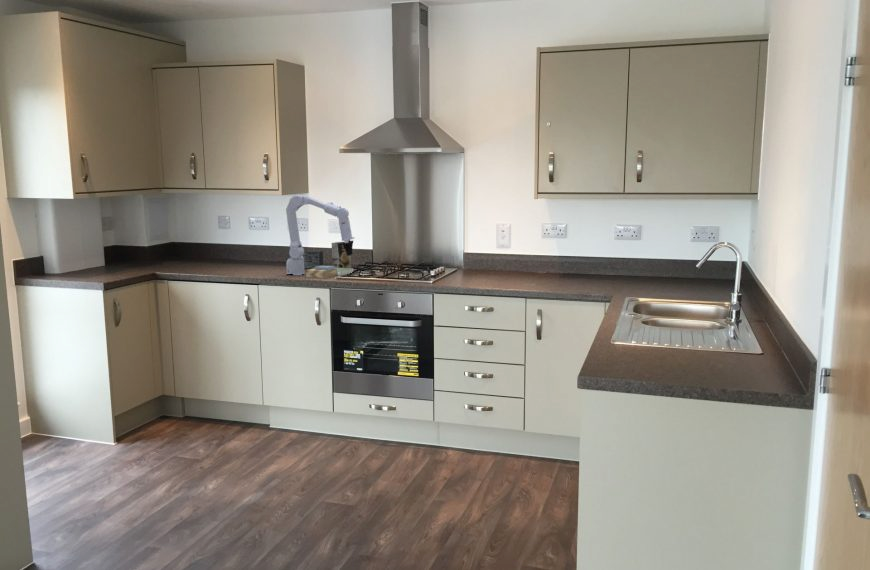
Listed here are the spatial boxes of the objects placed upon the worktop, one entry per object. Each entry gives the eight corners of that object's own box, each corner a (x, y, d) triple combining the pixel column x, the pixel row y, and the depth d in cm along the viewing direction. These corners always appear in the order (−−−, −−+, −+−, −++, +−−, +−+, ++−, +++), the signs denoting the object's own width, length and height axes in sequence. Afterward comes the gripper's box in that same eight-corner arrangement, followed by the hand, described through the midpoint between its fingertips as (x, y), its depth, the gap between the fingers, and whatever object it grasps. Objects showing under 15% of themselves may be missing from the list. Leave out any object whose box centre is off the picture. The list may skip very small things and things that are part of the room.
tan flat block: (306, 277, 391) (305, 270, 391) (318, 274, 401) (318, 267, 400) (325, 278, 385) (325, 271, 384) (337, 275, 395) (337, 268, 394)
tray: (321, 274, 400) (321, 270, 399) (333, 271, 409) (333, 267, 409) (342, 275, 393) (342, 271, 393) (353, 273, 403) (353, 268, 402)
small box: (324, 267, 429) (323, 250, 427) (320, 269, 422) (319, 251, 421) (307, 267, 431) (306, 250, 429) (303, 269, 424) (302, 251, 423)
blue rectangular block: (314, 269, 391) (314, 266, 391) (321, 268, 396) (321, 265, 396) (327, 270, 387) (327, 267, 386) (334, 268, 392) (334, 266, 392)
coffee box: (340, 271, 410) (339, 243, 407) (332, 270, 414) (330, 242, 411) (351, 269, 417) (350, 241, 415) (343, 268, 421) (342, 241, 419)
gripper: (352, 230, 390) (356, 254, 392) (353, 228, 405) (357, 252, 407) (339, 232, 390) (343, 257, 392) (341, 230, 405) (345, 254, 407)
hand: (349, 254), depth 399 cm, fingers open, 7 cm apart
